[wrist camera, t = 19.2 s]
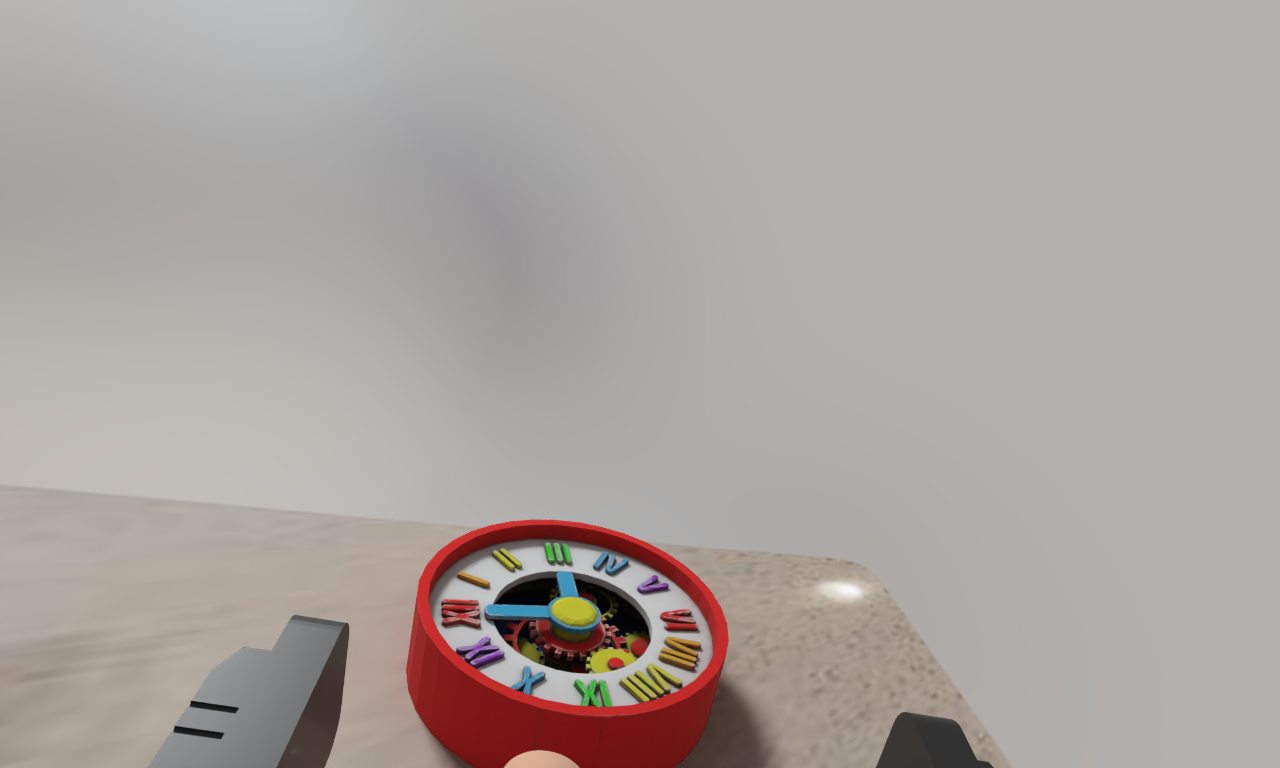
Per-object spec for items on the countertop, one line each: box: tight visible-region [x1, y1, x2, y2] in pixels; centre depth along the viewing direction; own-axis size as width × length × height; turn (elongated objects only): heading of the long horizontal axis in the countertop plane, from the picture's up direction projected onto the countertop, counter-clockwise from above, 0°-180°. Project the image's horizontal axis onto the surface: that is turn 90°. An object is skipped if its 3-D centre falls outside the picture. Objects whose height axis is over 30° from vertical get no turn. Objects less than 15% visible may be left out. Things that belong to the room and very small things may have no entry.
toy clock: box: [406, 520, 729, 768], centre depth 57 cm, size 20×6×20 cm
